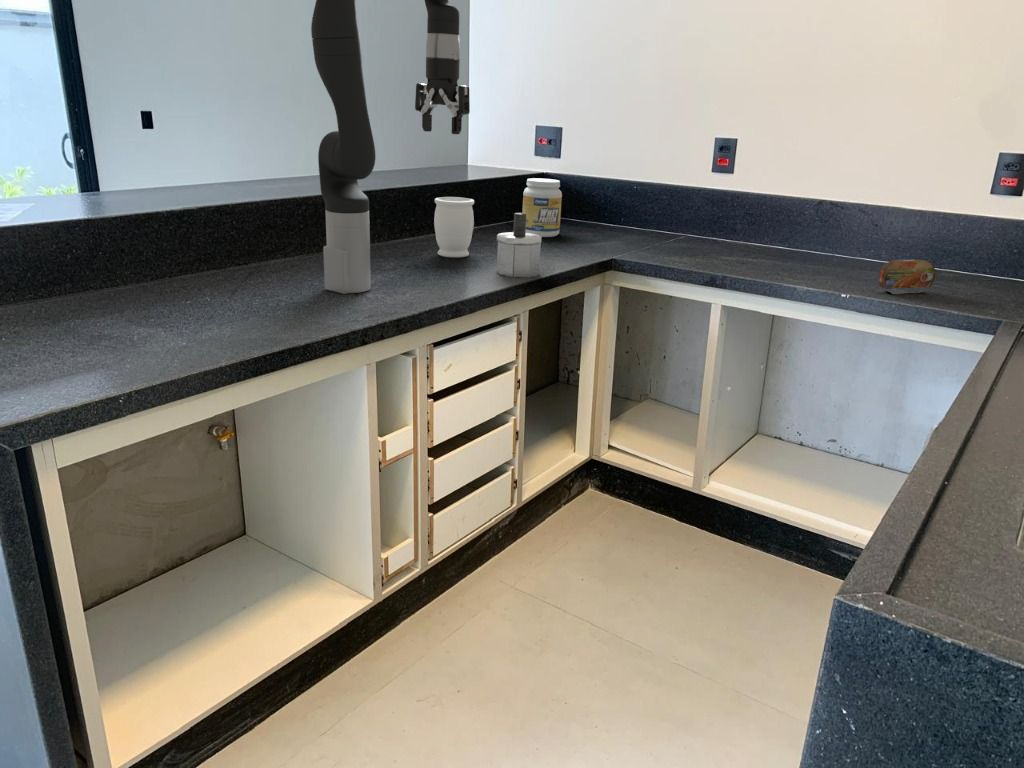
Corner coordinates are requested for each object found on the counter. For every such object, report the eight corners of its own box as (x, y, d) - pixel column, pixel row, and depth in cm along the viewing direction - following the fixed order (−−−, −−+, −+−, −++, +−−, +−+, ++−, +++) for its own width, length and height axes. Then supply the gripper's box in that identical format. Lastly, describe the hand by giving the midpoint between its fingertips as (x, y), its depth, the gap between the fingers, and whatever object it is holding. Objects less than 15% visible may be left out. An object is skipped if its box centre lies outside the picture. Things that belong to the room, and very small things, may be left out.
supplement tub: (533, 238, 244) (536, 182, 238) (514, 231, 254) (516, 177, 248) (566, 236, 250) (570, 182, 244) (546, 230, 260) (549, 177, 254)
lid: (524, 247, 188) (526, 218, 186) (488, 240, 194) (488, 213, 192) (549, 241, 197) (551, 214, 194) (513, 235, 203) (514, 208, 200)
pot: (522, 279, 192) (524, 246, 189) (489, 272, 197) (491, 240, 194) (545, 273, 199) (547, 241, 197) (513, 266, 205) (514, 235, 202)
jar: (475, 252, 220) (476, 197, 214) (469, 260, 210) (471, 202, 205) (437, 250, 221) (438, 195, 215) (430, 257, 211) (430, 200, 206)
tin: (881, 295, 194) (889, 261, 191) (873, 291, 197) (880, 258, 194) (932, 293, 198) (940, 260, 195) (922, 290, 201) (930, 257, 198)
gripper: (407, 55, 177) (407, 130, 183) (456, 56, 170) (455, 135, 175) (429, 57, 183) (428, 130, 189) (478, 58, 175) (475, 134, 181)
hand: (441, 132), depth 182 cm, fingers open, 8 cm apart
